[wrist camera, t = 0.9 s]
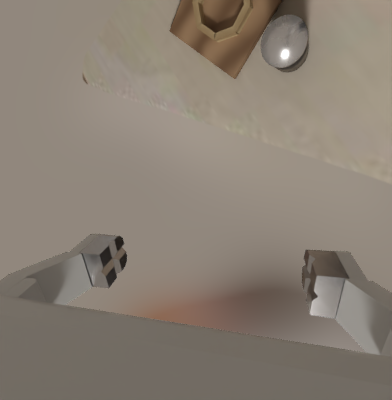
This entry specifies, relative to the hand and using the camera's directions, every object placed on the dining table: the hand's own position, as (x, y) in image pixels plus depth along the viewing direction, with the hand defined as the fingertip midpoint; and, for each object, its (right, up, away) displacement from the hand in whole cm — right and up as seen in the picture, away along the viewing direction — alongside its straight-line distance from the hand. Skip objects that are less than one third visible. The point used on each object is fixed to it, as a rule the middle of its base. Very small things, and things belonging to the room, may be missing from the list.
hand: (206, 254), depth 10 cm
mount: (+5, +36, +30) cm, 48 cm away
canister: (+16, +27, +29) cm, 43 cm away
